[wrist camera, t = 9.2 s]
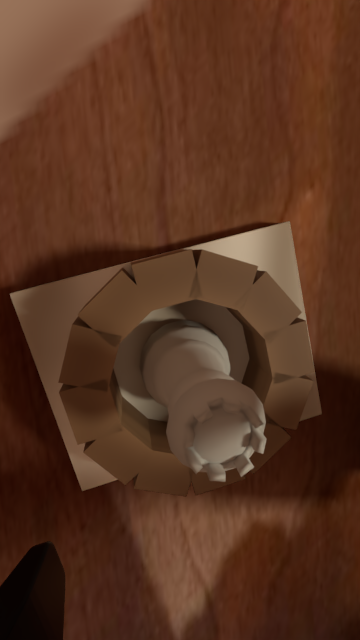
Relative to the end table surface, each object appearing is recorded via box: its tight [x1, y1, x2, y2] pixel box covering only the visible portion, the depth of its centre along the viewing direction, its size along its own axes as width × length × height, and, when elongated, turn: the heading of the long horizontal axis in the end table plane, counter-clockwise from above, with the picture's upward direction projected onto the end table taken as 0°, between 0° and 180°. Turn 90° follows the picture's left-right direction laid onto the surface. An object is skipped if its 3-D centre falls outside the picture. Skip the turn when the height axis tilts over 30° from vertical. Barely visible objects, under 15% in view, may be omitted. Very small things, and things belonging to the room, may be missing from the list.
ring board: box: [10, 221, 322, 496], centre depth 17 cm, size 14×11×4 cm
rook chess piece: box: [139, 320, 267, 482], centre depth 14 cm, size 4×4×8 cm
